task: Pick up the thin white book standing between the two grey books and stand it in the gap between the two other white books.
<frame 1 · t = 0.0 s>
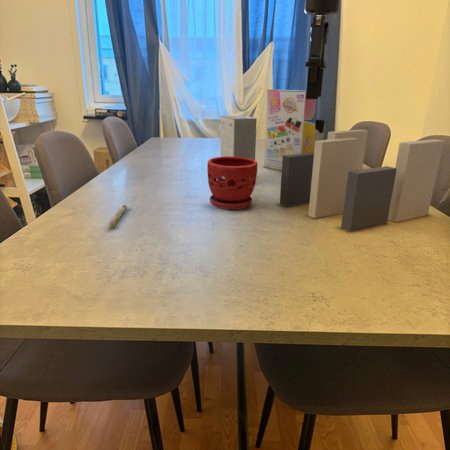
hand: (313, 98, 106), 27 cm above the table, tool pointing down, fingers open, 13 cm apart
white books: (371, 205, 118), on the table
plant pot: (231, 206, 118), on the table
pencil: (117, 219, 106), on the table
hard drive box: (236, 180, 147), on the table
white book: (329, 213, 111), on the table
game box: (286, 171, 162), on the table
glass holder: (314, 157, 188), on the table
grey books: (329, 213, 111), on the table
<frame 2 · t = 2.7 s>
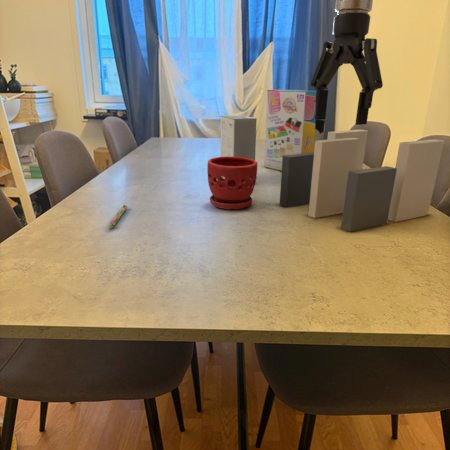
hand: (339, 121, 101), 22 cm above the table, tool pointing down, fingers open, 13 cm apart
nothing on the table moved.
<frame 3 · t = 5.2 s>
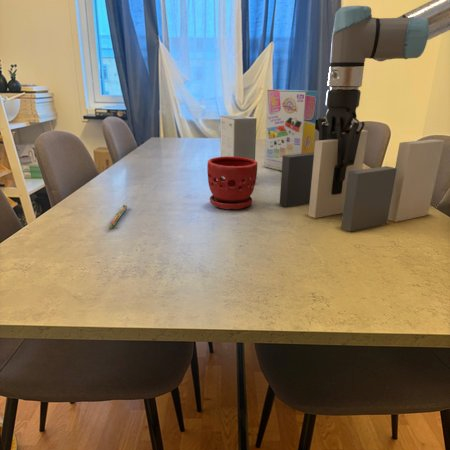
hand: (331, 192, 109), 6 cm above the table, tool pointing down, fingers closed on white book, 2 cm apart
white book: (329, 213, 111), on the table, touching gripper
everything else where it was.
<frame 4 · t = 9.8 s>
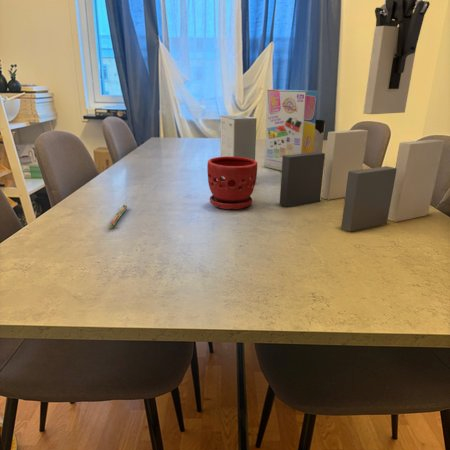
hand: (388, 88, 104), 29 cm above the table, tool pointing down, fingers closed on white book, 2 cm apart
white book: (384, 113, 107), point 23 cm above the table, touching gripper
everything else where it was.
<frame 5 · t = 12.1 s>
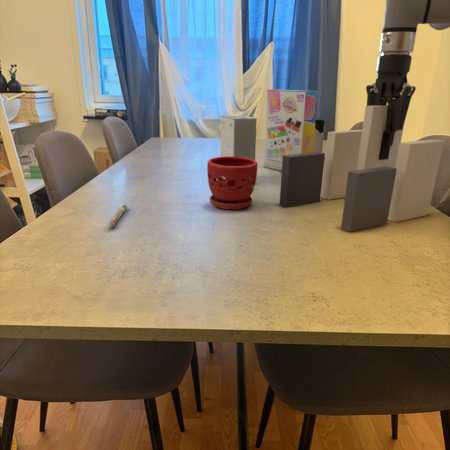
hand: (378, 158, 112), 13 cm above the table, tool pointing down, fingers closed on white book, 2 cm apart
white book: (374, 179, 115), point 7 cm above the table, touching gripper
everything else where it was.
when the fingers open (5 cm above the table, at t = 14.2 s): white book stays where it is, on the table.
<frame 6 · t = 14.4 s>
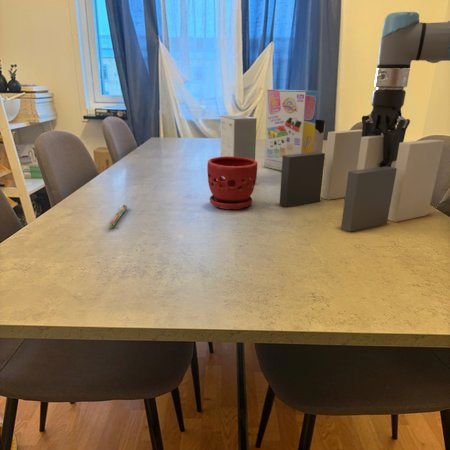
hand: (374, 185, 115), 5 cm above the table, tool pointing down, fingers open, 4 cm apart
white book: (370, 205, 118), on the table
everything else where it was.
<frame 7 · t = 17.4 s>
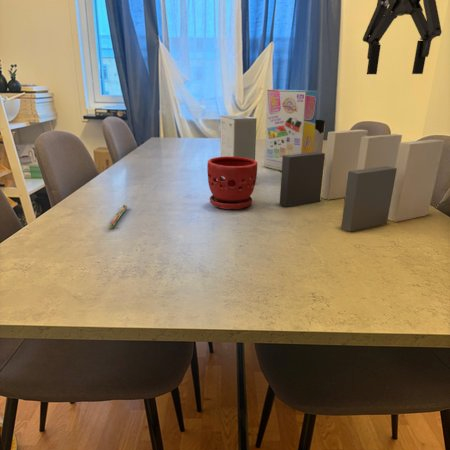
hand: (393, 74, 104), 32 cm above the table, tool pointing down, fingers open, 13 cm apart
nothing on the table moved.
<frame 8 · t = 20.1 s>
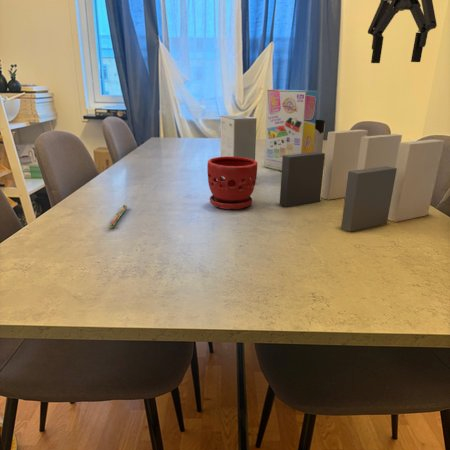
hand: (394, 62, 117), 35 cm above the table, tool pointing down, fingers open, 13 cm apart
nothing on the table moved.
at the end: white book inside the target area (0.1 cm from its centre), on the table; white book tilted 0°; the gripper is holding nothing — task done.
